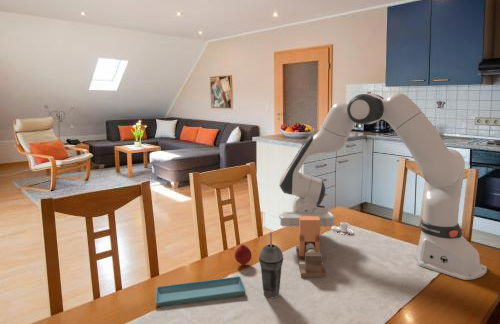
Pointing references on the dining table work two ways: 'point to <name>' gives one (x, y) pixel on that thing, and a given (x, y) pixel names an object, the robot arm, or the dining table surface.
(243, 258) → the onion
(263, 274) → the beverage cup
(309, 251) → the pipe rig
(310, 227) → the orange angular piece
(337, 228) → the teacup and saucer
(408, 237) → the dining table surface
